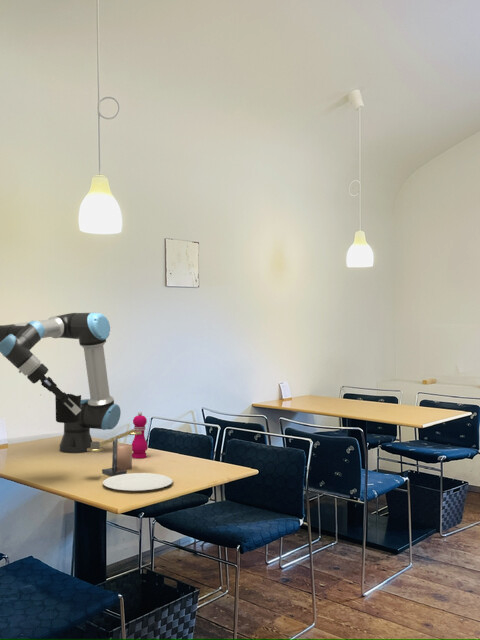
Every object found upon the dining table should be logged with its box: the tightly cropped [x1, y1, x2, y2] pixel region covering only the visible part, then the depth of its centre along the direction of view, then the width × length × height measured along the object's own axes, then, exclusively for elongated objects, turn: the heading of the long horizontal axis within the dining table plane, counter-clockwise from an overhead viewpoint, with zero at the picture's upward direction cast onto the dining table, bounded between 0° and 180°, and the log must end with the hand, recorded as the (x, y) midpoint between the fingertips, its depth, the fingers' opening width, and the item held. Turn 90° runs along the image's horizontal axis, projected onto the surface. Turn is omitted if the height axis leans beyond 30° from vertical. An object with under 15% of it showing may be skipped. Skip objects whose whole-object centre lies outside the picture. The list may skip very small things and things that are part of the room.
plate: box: [102, 472, 173, 492], centre depth 215 cm, size 25×25×2 cm
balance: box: [87, 428, 142, 477], centre depth 231 cm, size 8×23×16 cm, turn 134°
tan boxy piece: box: [117, 443, 133, 471], centre depth 241 cm, size 8×8×9 cm
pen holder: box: [54, 393, 82, 424], centre depth 226 cm, size 9×9×10 cm
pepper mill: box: [131, 411, 149, 460], centre depth 262 cm, size 7×7×20 cm
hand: (76, 410), depth 227 cm, fingers closed on pen holder, 9 cm apart
